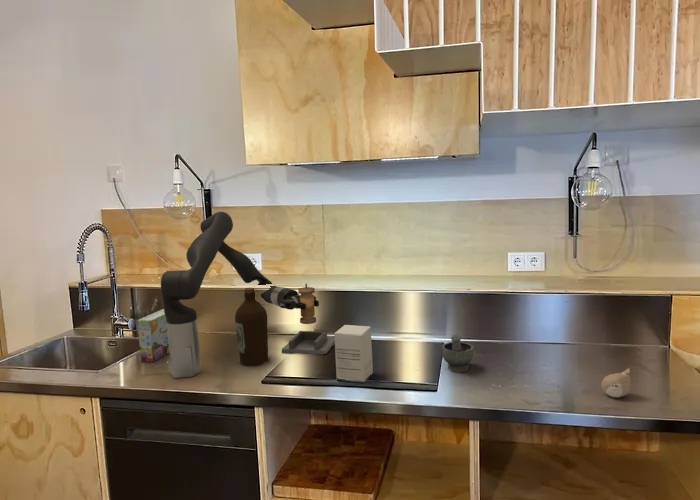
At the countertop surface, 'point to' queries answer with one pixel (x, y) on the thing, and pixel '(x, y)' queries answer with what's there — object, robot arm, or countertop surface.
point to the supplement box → (353, 352)
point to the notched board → (309, 343)
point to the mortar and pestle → (457, 354)
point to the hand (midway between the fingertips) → (311, 305)
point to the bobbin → (307, 305)
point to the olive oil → (251, 330)
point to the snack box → (153, 336)
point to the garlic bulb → (617, 384)
